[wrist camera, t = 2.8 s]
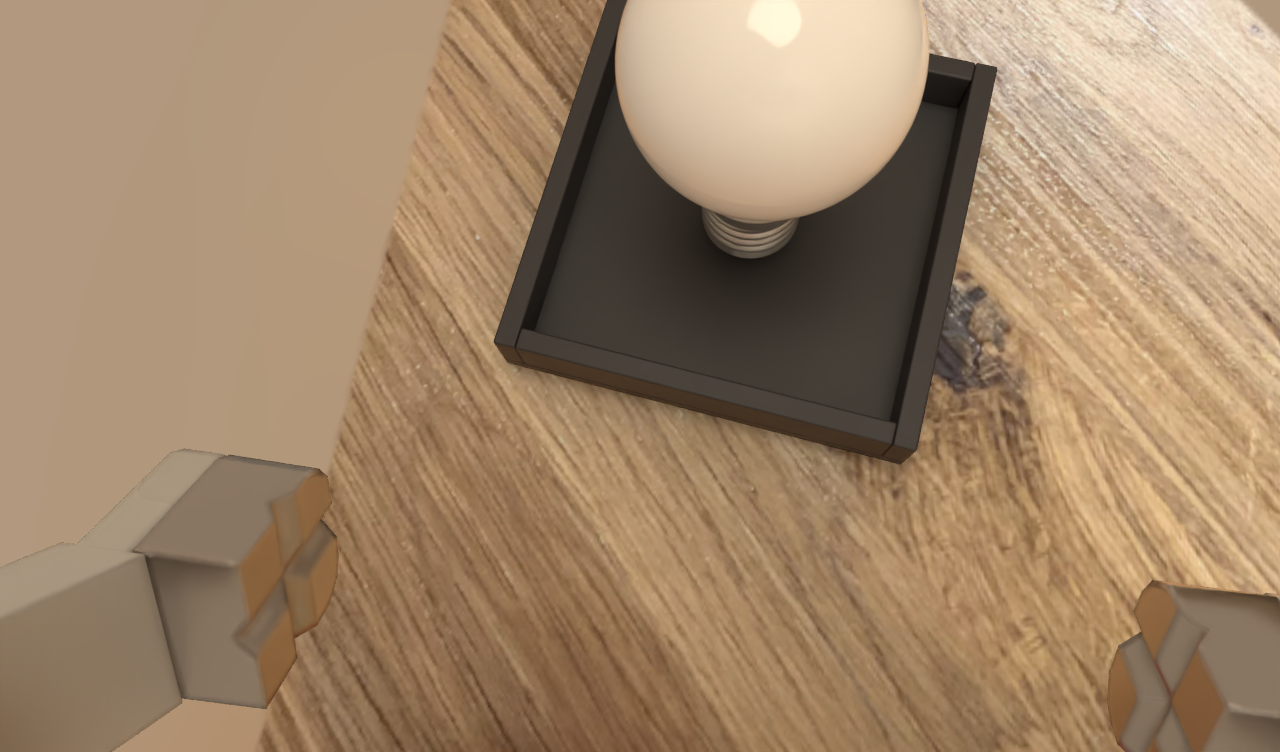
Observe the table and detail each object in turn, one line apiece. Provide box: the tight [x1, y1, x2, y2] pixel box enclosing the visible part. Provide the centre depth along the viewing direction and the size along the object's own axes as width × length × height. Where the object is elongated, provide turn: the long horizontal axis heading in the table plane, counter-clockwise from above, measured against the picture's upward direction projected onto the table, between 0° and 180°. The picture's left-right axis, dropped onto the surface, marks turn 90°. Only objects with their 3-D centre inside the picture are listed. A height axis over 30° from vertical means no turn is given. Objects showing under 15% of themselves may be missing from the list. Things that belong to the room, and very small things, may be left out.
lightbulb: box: [615, 0, 929, 259], centre depth 22 cm, size 6×6×11 cm
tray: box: [494, 0, 997, 464], centre depth 27 cm, size 11×11×2 cm
